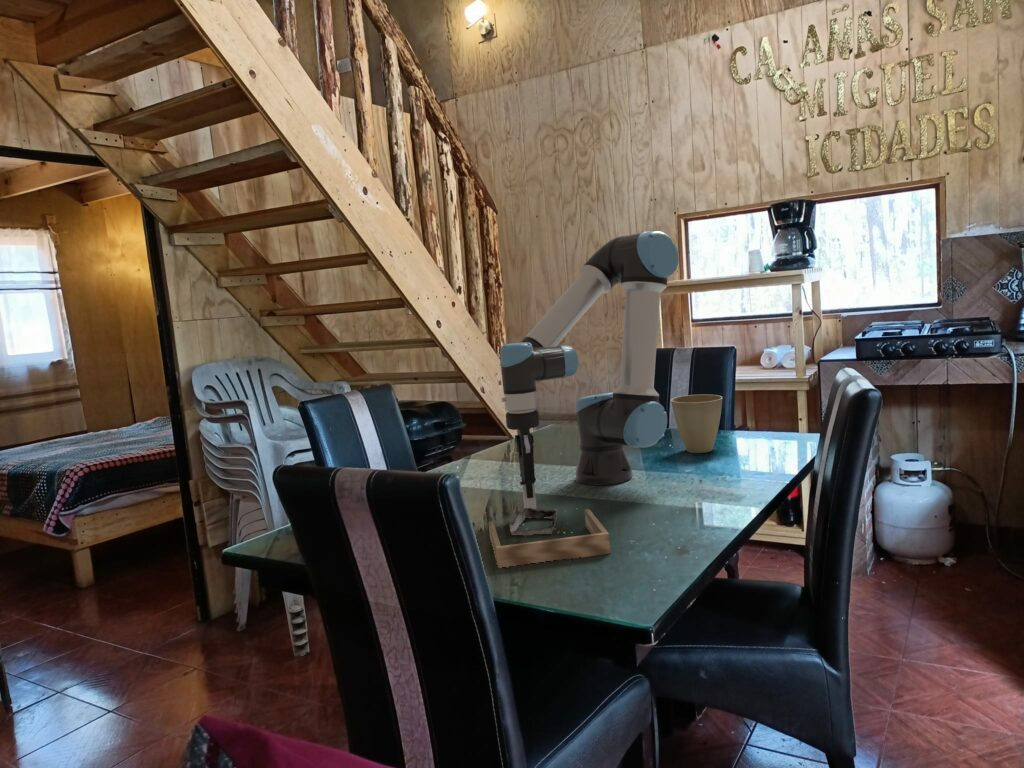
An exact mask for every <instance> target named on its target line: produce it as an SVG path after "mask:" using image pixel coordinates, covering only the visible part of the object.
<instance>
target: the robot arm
mask: <svg viewBox="0 0 1024 768" xmlns="http://www.w3.org/2000/svg"><path fill="white" fill-rule="evenodd" d="M679 257H680V255H679V251H678V248H677V245H676V243H675V242H674V241H673V239H672V238H671V237H670V236H669V235H668V234H667V233H665V232H663V231H659V230H657V231H656V230H655V231H643V232H640V233H636V234H635V233H634V234H629V235H624V236H618V237H617V236H616V237H614V238H613V239H610V240H609V241H608V242H606V243H605V244H603V245H602V246H601V247H600V248H598V250H596V251H595V253H593V254H592V255H591V257H590V258H589V259H587V260H586V262H585V263H584V264H582V266H581V268H580V270H579V274H580V275H578V277H577V278H576V279H575V280H574V281H573V282H572V284H571V285H569V287H568V288H567V289H566V290H565V291H564V293H563V294H562V295H561V296H560V297H559V298H558V300H556V302H555V303H553V305H552V306H551V307H550V308H549V309H548V310H547V312H546V313H544V315H543V316H542V317H541V319H540V320H538V322H537V323H536V324H535V325H534V326H533V328H532V329H531V330H530V331H529V332H528V333H527V334H526V336H524V338H523V339H522V340H521V341H520V342H514V343H506V344H503V345H501V347H500V351H499V352H500V353H499V357H500V358H499V359H500V360H499V361H500V371H501V379H502V390H503V391H502V392H503V396H504V397H501V402H502V403H504V409H505V411H506V413H505V423H506V425H505V426H506V428H507V429H509V430H512V431H515V430H516V432H517V433H516V434H515V435H514V441H515V444H516V452H517V455H518V463H519V472H520V474H519V476H520V478H521V479H520V480H521V481H519V484H520V486H521V487H522V497H523V506H524V507H523V509H524V508H532V509H536V510H538V509H537V498H536V487H535V483H536V481H537V479H536V473H535V461H534V458H535V457H534V453H535V452H534V451H535V450H534V448H535V447H534V442H535V440H534V435H533V434H532V433H531V432H530V431H531V430H530V429H534V428H537V427H538V426H539V425H540V417H539V411H538V410H537V408H538V407H539V406H538V405H539V404H538V391H537V383H539V382H542V381H549V380H557V379H565V378H567V377H568V378H569V377H572V376H574V375H575V374H576V373H577V371H578V369H579V365H580V363H579V356H578V353H577V351H576V350H575V348H574V347H572V346H570V345H559V344H560V342H561V341H562V340H563V339H564V338H565V337H566V335H568V333H569V332H570V331H571V330H572V329H573V328H574V326H575V325H576V324H577V323H579V321H580V319H582V317H584V315H585V314H586V313H587V311H589V309H590V308H591V307H592V306H593V305H594V303H595V302H596V301H597V300H598V299H599V297H600V296H602V295H604V294H608V293H609V291H611V290H612V289H613V288H614V287H615V286H616V285H618V284H620V286H621V287H622V288H623V290H624V291H625V302H624V314H623V315H624V316H623V317H624V318H623V330H622V331H623V332H622V333H623V334H622V345H621V346H622V347H621V360H620V361H621V362H620V373H619V385H618V387H616V389H614V390H613V391H612V392H604V393H599V394H593V395H587V396H583V397H582V396H581V397H579V398H578V399H577V400H576V406H575V407H576V411H575V413H576V421H577V422H576V423H577V431H578V440H579V441H578V442H579V456H578V461H577V466H576V468H575V469H576V470H575V481H576V482H577V483H578V484H581V485H582V484H583V485H586V486H607V485H608V486H609V485H614V484H615V485H616V484H620V483H624V482H627V481H629V480H631V479H632V478H633V470H632V466H631V463H630V461H629V459H628V457H627V454H626V452H625V449H624V446H628V447H631V448H650V447H653V446H654V445H655V444H657V443H658V442H659V440H661V439H662V438H663V436H664V434H665V432H666V429H667V426H668V414H667V411H665V407H664V406H663V405H662V404H661V403H660V394H659V392H658V391H656V389H655V375H656V359H657V345H658V329H659V315H660V303H661V293H662V292H664V290H665V289H667V287H668V278H669V277H671V276H672V275H674V273H675V271H677V268H678V266H679V261H680V258H679Z"/></svg>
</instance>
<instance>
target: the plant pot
mask: <svg viewBox="0 0 1024 768" xmlns="http://www.w3.org/2000/svg"><path fill="white" fill-rule="evenodd" d="M670 402H671V407H672V410H673V416H674V419H675V420H674V421H675V423H676V427H677V429H678V433H679V435H680V438H681V440H682V442H683V444H684V445H683V446H684V448H685V450H686V451H687V453H692V454H703V453H704V454H705V453H709V452H712V451H713V449H714V446H715V442H716V440H717V435H718V432H719V431H718V430H719V426H720V421H721V414H722V406H723V396H721V395H718V394H707V393H706V394H689V395H681V396H676V397H672V398H671V399H670Z"/></svg>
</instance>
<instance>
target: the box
mask: <svg viewBox="0 0 1024 768" xmlns="http://www.w3.org/2000/svg"><path fill="white" fill-rule="evenodd" d="M584 518H585V528H586V530H588V532H589V533H590V534H584V535H576V536H568V537H559V538H551V539H544V540H537V541H529V542H524V543H523V542H521V543H513V544H506V545H502V544H501V542H500V539H499V535H498V532H497V528H496V527H495V523H494V521H493V520H492V521H491V520H490V521H488V530H489V540H490V543H492V544H491V547H493V548H492V550H494V551H493V555H494V554H495V555H494V558H495V561H497V562H496V566H497V565H498V566H497V569H498V568H499V569H503V568H502V567H506V568H510V567H509V566H514V567H517V566H516V565H521V566H524V565H523V564H529V565H531V564H530V563H536V562H544V563H546V562H545V561H551V562H554V561H553V560H558V561H563V560H562V559H566V560H572V559H571V558H573V559H578V558H579V557H581V558H585V557H586V558H587V557H594V556H601V555H603V556H604V555H609V553H610V554H611V543H610V533H609V532H608V530H607V529H606V527H604V525H603V524H602V523H601V521H600V520H599V519H598V518H597V516H595V514H594V513H593V512H592V511H591V510H590V509H589V508H587V509H584ZM579 559H580V558H579ZM536 564H537V563H536Z"/></svg>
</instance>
